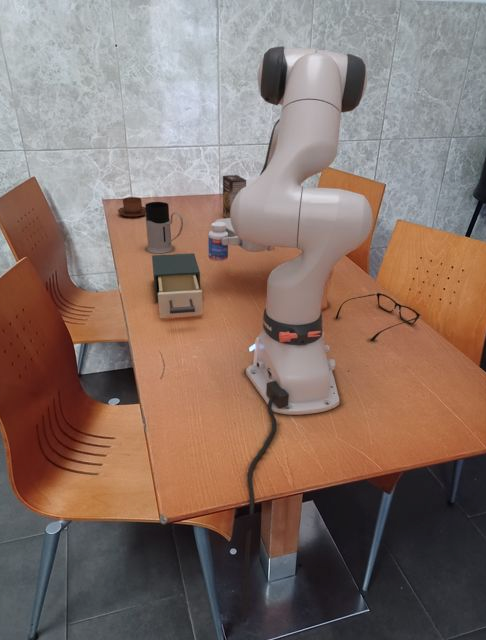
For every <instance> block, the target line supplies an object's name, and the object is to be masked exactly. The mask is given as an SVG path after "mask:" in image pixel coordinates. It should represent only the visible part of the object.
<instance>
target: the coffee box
mask: <svg viewBox="0 0 486 640" xmlns="http://www.w3.org/2000/svg"><path fill="white" fill-rule="evenodd" d="M246 186H247V179H246V178H244V177H241V176H239V175H238V174H228V175H222V216H223V217H224V219H225V218H230V211H231V206H232V203H233V200H234V198H235V197H236V195H237V194H238V192H239V191H240V190H241V189H242V188H244V187H246Z"/></svg>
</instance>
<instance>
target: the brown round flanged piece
mask: <svg viewBox="0 0 486 640" xmlns="http://www.w3.org/2000/svg"><path fill="white" fill-rule="evenodd" d="M122 206H123V207H120V208H118V210H117V212H118V214H119V215H121V216H123V217H128V218H133V217H134V218H135V217H137V218H138V217H141V216H144V215H146V208H145V206H143V204H142V198H140V197H136V196H129V197H125V198H123V199H122Z"/></svg>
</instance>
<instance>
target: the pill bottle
mask: <svg viewBox="0 0 486 640" xmlns="http://www.w3.org/2000/svg"><path fill="white" fill-rule="evenodd" d="M210 229H211V230H212V231H210V230H209V231H210V232H209V231H208V232H209V235H208V236H207V237H208V241H207V242H208V259H209V260H210V261H213V262H224V261H226V260H228V258H229V245H222V244H221V243H220V238H221V237H228V233H227V232H226V231H225V230H226V224H225V223H223V222H215V221H214V222H211V225H210Z"/></svg>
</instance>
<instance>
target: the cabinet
mask: <svg viewBox="0 0 486 640" xmlns="http://www.w3.org/2000/svg"><path fill="white" fill-rule="evenodd" d="M151 261H152V274H153V286H154V296H155V297H154V299H155V303H158V293H159V285H158V276H173V275H191V274H196V278H197V282H198V286H199V290H201V271H200V268H199V264H198V261H197V257H196V253H194V252H191V253H173V254H172V253H171V254H152V255H151Z"/></svg>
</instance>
